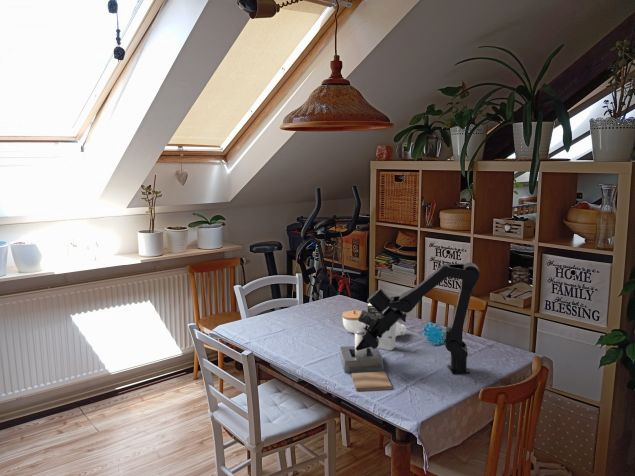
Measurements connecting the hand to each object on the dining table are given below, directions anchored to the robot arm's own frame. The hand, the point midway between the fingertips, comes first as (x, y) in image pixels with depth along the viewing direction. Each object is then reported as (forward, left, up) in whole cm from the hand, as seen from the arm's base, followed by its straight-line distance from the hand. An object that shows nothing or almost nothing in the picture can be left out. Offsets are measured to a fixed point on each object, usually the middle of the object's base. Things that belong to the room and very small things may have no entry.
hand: (357, 347), depth 200 cm
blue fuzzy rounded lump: (+18, -35, -7) cm, 40 cm away
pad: (-16, -2, -7) cm, 18 cm away
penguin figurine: (+27, -20, -7) cm, 34 cm away
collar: (0, -1, -7) cm, 7 cm away
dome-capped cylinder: (0, -1, -7) cm, 7 cm away
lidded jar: (+37, -4, -7) cm, 38 cm away
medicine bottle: (+54, -17, -7) cm, 57 cm away
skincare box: (+15, -14, -7) cm, 22 cm away
